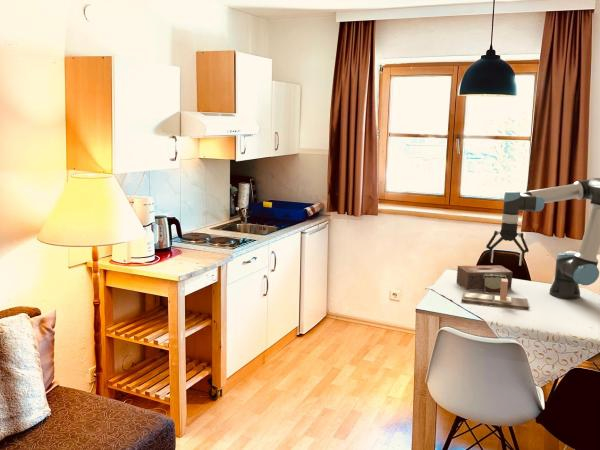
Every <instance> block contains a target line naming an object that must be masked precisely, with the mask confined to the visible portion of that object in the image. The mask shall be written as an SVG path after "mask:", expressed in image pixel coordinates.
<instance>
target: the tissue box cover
mask: <svg viewBox="0 0 600 450" xmlns="http://www.w3.org/2000/svg"><path fill="white" fill-rule="evenodd" d="M456 272H457V273H456V283H457V284H458V285H459V286H461V287H463V289H464V290H465V289H467V291H468V290H469V289H479V290H485V284H484V278H483V276H484V274H485V273H489V272H493V273H501V274H504V275H506V277H507V279H508V286H507V290H512V285H513V284H512V282H513V274H514V273H513V271H511V270H510V269H508V268H506V267H504V266H503V265H457V271H456Z"/></svg>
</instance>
